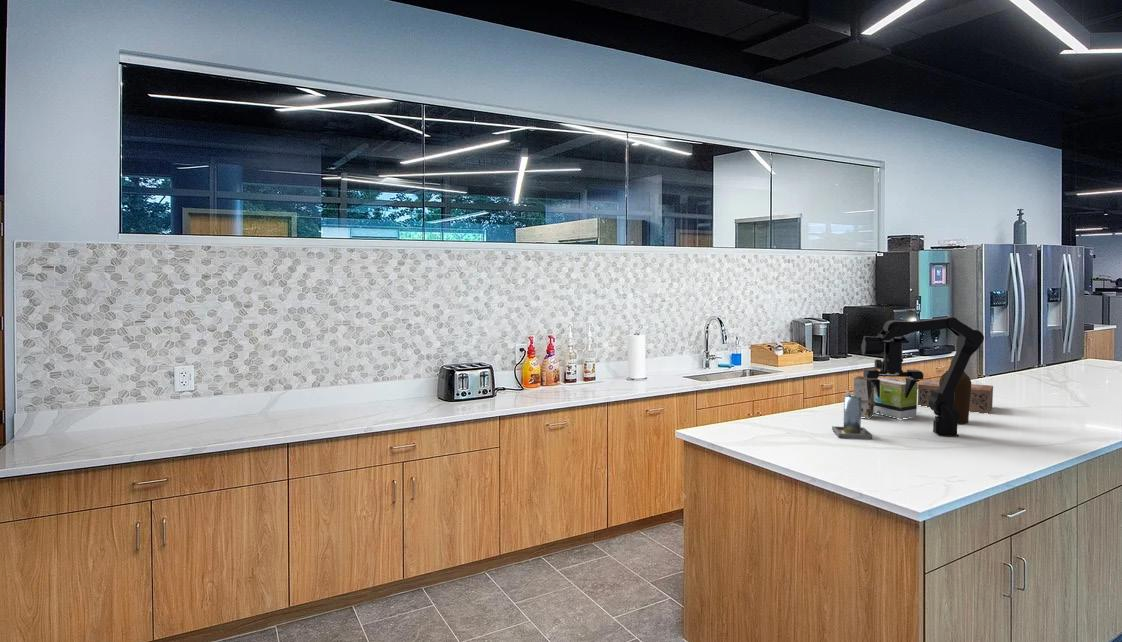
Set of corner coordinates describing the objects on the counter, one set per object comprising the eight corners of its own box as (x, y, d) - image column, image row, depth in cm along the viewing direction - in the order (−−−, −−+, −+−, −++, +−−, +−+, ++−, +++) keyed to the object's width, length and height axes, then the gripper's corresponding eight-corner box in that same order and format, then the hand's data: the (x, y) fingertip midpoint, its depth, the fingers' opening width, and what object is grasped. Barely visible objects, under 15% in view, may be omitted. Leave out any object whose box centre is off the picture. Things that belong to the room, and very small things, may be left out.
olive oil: (964, 426, 233) (966, 360, 232) (933, 421, 241) (935, 358, 240) (974, 421, 240) (976, 358, 238) (943, 417, 248) (945, 355, 246)
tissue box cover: (992, 408, 264) (993, 385, 263) (988, 414, 253) (989, 390, 252) (923, 401, 280) (924, 379, 280) (917, 406, 269) (918, 384, 269)
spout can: (854, 430, 226) (855, 388, 224) (863, 434, 220) (864, 390, 219) (840, 430, 225) (841, 388, 224) (848, 434, 219) (849, 391, 218)
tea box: (867, 413, 257) (868, 378, 256) (884, 410, 262) (884, 376, 261) (900, 420, 244) (901, 383, 243) (917, 417, 248) (918, 381, 247)
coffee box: (869, 419, 246) (870, 379, 245) (852, 417, 250) (853, 378, 248) (874, 415, 253) (875, 376, 252) (857, 413, 257) (858, 375, 256)
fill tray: (863, 431, 227) (863, 427, 227) (872, 439, 216) (872, 434, 216) (831, 430, 229) (832, 426, 229) (838, 438, 218) (838, 433, 218)
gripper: (913, 352, 229) (912, 394, 230) (859, 352, 233) (858, 392, 234) (924, 356, 218) (923, 399, 219) (867, 355, 222) (866, 398, 223)
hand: (892, 397), depth 224 cm, fingers open, 9 cm apart
